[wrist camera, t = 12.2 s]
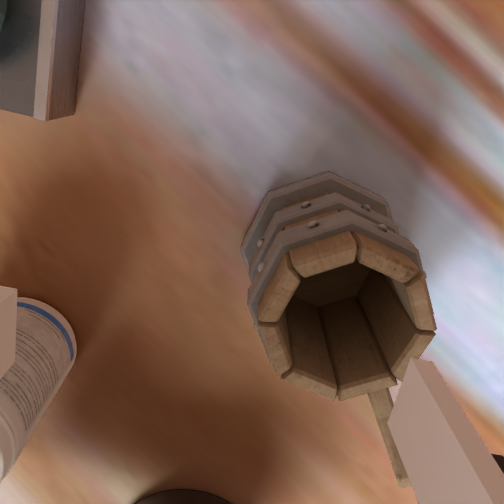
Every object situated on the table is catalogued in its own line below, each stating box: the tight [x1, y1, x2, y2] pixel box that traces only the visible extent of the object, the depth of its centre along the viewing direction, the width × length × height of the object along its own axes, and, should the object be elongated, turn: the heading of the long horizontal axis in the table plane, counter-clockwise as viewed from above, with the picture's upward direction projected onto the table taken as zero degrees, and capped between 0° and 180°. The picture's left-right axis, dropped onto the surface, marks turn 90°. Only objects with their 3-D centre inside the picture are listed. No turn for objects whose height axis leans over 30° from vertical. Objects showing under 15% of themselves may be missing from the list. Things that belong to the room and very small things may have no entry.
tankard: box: [241, 171, 437, 488], centre depth 36 cm, size 20×13×15 cm, turn 20°
